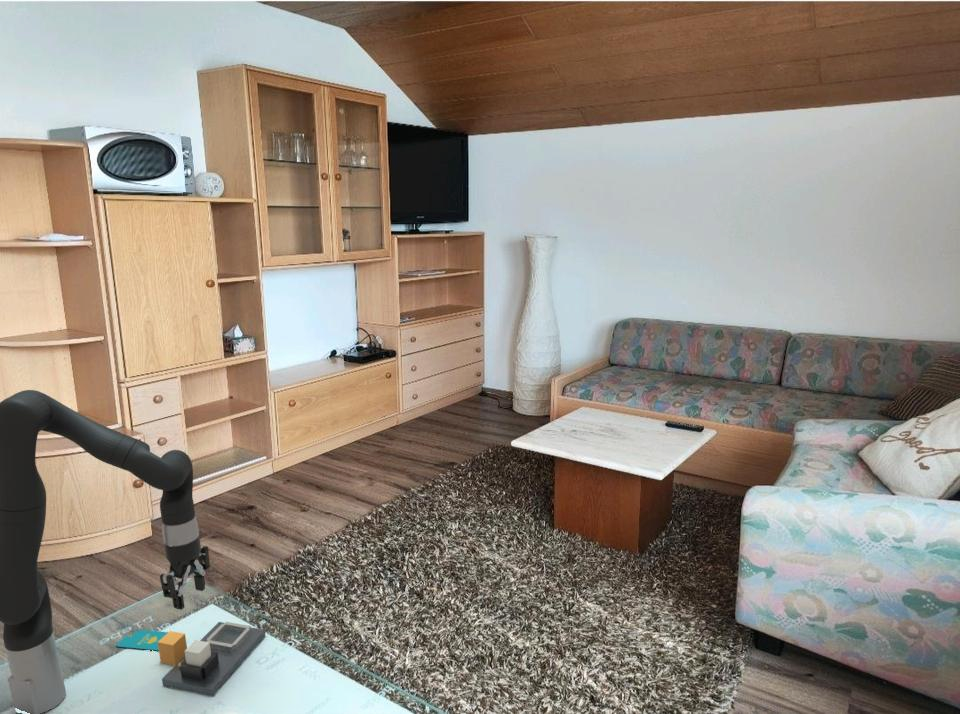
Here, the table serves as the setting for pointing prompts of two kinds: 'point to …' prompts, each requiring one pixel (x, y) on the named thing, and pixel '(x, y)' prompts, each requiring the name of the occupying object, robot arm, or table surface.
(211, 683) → the grey control panel
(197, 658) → the button
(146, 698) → the table surface
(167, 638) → the cap
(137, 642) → the smartphone
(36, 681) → the robot arm
